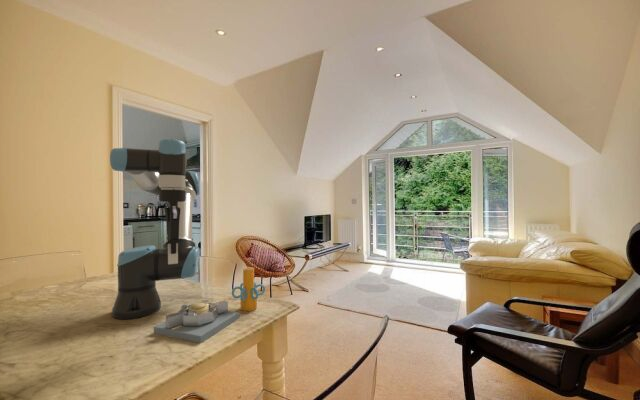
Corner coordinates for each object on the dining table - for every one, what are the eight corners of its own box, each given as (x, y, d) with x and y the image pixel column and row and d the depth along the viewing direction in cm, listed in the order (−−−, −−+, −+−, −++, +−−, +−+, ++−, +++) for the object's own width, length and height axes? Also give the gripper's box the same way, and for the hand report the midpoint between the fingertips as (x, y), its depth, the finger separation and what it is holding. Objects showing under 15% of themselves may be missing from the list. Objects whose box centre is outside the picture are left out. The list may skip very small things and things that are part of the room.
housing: (153, 333, 88) (153, 311, 88) (197, 311, 105) (197, 293, 105) (200, 343, 82) (200, 320, 82) (238, 318, 99) (238, 299, 99)
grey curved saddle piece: (172, 333, 83) (172, 319, 83) (161, 321, 91) (161, 308, 91) (234, 314, 96) (234, 302, 96) (219, 305, 104) (219, 294, 104)
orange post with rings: (254, 316, 101) (254, 273, 101) (227, 313, 103) (227, 271, 103) (268, 303, 113) (268, 265, 113) (243, 301, 115) (243, 264, 115)
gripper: (188, 189, 88) (189, 266, 88) (182, 189, 99) (182, 258, 99) (160, 188, 84) (161, 269, 84) (157, 189, 95) (157, 260, 95)
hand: (172, 263), depth 92 cm, fingers closed
